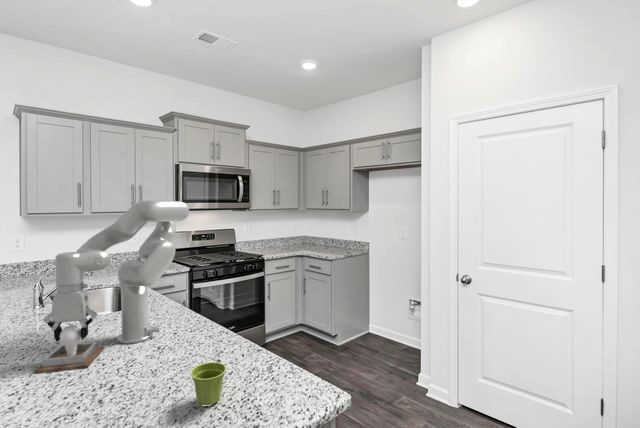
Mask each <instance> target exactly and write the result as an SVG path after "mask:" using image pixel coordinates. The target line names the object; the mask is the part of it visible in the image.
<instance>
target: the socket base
mask: <svg viewBox="0 0 640 428" xmlns="http://www.w3.org/2000/svg"><path fill="white" fill-rule="evenodd" d="M104 349H105V346H104V345H102V346H98V349H97V350H96V351H95V352H94V353H93V354H92V355H91V357H90V358H89V359H88V360H87V361H86V362H85V363H83V364H73V365H64V366H54V367H45V368H42V363H41V364H40V365H39V366H38V367H37V368H35V369H34V371H33V374H42V373H52V372H53V373H54V372H62V371H71V370H72V371H73V370H79V369H80V370H81V369H87V368H89V367H90V366H91V364H92V363H94V362H95V360H96V359H97V358H98V356H99V355H100V354H101V353H103V351H104ZM84 352H85V351H76V355H75V356H78V355H82V354H83V353H84ZM58 357H68V356H67V352H66V353H62V354H60V355H59V356H58Z"/></svg>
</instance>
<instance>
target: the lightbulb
mask: <svg viewBox="0 0 640 428" xmlns="http://www.w3.org/2000/svg"><path fill="white" fill-rule="evenodd" d="M80 339H81V327H78V326H77V325H69V326H66V327H64V328H62V331H61V333H60V340H59V341H60V342H61V343H62V345H65V348H66V351H67V356H75V355H76V349H77V344H78V343H79V341H80Z"/></svg>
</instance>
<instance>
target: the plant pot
mask: <svg viewBox="0 0 640 428" xmlns="http://www.w3.org/2000/svg"><path fill="white" fill-rule="evenodd" d="M226 371H227V366H226V365H225V364H224V363H221V362H215V361H212V362H211V361H209V362H205V363H201V364H198V365H196V366H195V367H193V368H192V369H191V371H190V376H191V378H192V381H193V383H194V390H195V397H196V402H197V404H198V405H199V404H200V405H211V404H213V405H215V404H214V403H216V402H218V401H219V400H221V397H222V396H221V395H222V388H223V380H224V377H225V374H226ZM219 402H220V401H219ZM219 402H218V403H219ZM216 404H217V403H216ZM200 405H199V406H200Z"/></svg>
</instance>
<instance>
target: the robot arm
mask: <svg viewBox="0 0 640 428" xmlns="http://www.w3.org/2000/svg"><path fill="white" fill-rule="evenodd" d="M189 215H190V208H189V206H188V205H187V204H186V202H183V201H181V200H180V201H178V200H177V201H171V200H170V201H166V200H165V201H164V200H140V201H137V202H136V203H134V204H133V205H132V206H131V207H130V208H128V210H126V212H124V213H123V214H122V215H121V216H120V217H119V218H117V220H115V222H114V223H112V224H111V225H109V226H108V227H106V228H104V229H103V230H100V231H99V232H98V233H96V234H94V235H93V236H92V237H90V238H89V239H87V240H86V241H85V243H84V244H82V245H81V246H80V247H79V248H78V249H77V250H76V251H68V252H61V253H58V254H56V256H55V283H56V284H55V288H56V291H55V293H54V294H53V299H52V305H51V312H50V313H48V314H47V315H46V316H45V317H44V318H42V321H43V322H44V323H46V324H47V326H49V327H50V328H51V330H52V331H53V338H54V341H55V342H59V341H61V340H60V333H61V331H62V330H63V327H62V326H61V325H62V323H71V322H79V324H80V326H81V327H80V330H81V337H80V339H81V340H84V339H86V337H87V336H88V335H89V325H90V324H91V323H92V322H93V321H94V320H95V318H97V317H98V313H97V312H96V311H94V310H93V309H91V308H90V299H89V295H88V292H87V288H89V287H88V286H89V285H88V283H85V282H84V272H95V271H96V272H98V271H102V270H104V269H106V268H107V267H108V266H109V264H110V263H111V257H110V255H109V253H108V252H107V251H106V250H108V249H109V248H111V247H113V246H116V245H119V244H122V243H124V242H128V241H129V240H131V239H132V238H134V236H136V234H137V233H139V231H140V230H141V229H142V228H144V226H146V225H147V224H148V222H153V223H155V222H156V226H155V227H154V229H153V231H152V232H151V233H150V235H148V237H146V239H145V241H143V242H142V244H141V245H140V247H139V249H138V251H137V252H138V256H139V258H140V259H141V260H140V259H139V260H137V259H130V260H126V261H125V262H123V263H122V264H121V265H120V266H119V268H118V272H117V277H118V279H117V280H118V282H119V287H120V309H121V334H119V335H118V336H117V340H116V341H117V342H118V343H119V344H124V345H125V344H137V343H140V342H144V341H147V340H149V339H150V338H151V337H153V334H154V333H160V330H161V327H160V326H158V325H156V326H155V325H154V326H152V325H151V322H149V293H148V287H150V286H153V285H155V284H156V283H157V282H158V281H159V279H160V278H161V277H162V275H164V273H165V272H166V270H167V269H168V268H169V266H170V265H171V263H172V262H173V260H174V258H175V255H176V247H175V245H174V243H172V241H173V239H174V237H175V235H176V222H182V221H185V220H186V219H187V218H188V217H189ZM89 316H90V318H89V319H88V318H87V317H89Z"/></svg>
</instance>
